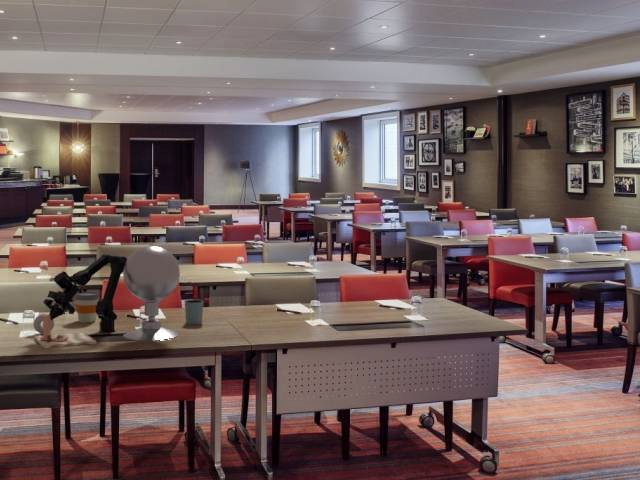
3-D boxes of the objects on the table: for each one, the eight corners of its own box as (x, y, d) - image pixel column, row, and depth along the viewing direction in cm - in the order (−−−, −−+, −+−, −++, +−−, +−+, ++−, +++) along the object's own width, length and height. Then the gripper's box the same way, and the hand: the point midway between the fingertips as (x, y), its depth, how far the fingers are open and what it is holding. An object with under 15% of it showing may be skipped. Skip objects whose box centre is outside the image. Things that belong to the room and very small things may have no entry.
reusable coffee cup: (95, 323, 450) (95, 295, 449) (72, 322, 451) (72, 295, 449) (102, 319, 463) (102, 292, 461) (79, 318, 463) (79, 291, 462)
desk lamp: (124, 341, 408) (124, 249, 404) (122, 330, 435) (122, 243, 431) (182, 339, 416) (182, 248, 411) (176, 328, 442) (176, 243, 438)
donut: (33, 334, 419) (33, 315, 418) (33, 333, 422) (33, 313, 421) (54, 333, 423) (54, 313, 422) (54, 332, 426) (53, 312, 425)
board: (83, 334, 422) (83, 326, 422) (96, 343, 404) (96, 334, 403) (34, 338, 410) (34, 330, 410) (44, 348, 391) (44, 339, 391)
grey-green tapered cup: (205, 321, 463) (205, 299, 462) (200, 325, 453) (201, 303, 452) (187, 320, 464) (187, 299, 463) (182, 324, 454) (182, 302, 453)
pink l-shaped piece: (68, 338, 405) (68, 315, 404) (63, 341, 400) (63, 317, 398) (44, 337, 406) (44, 314, 405) (39, 340, 401) (39, 316, 399)
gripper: (46, 282, 412) (26, 307, 405) (69, 286, 401) (49, 312, 393) (60, 296, 419) (41, 321, 412) (83, 301, 408) (64, 326, 400)
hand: (48, 320), depth 404 cm, fingers closed
